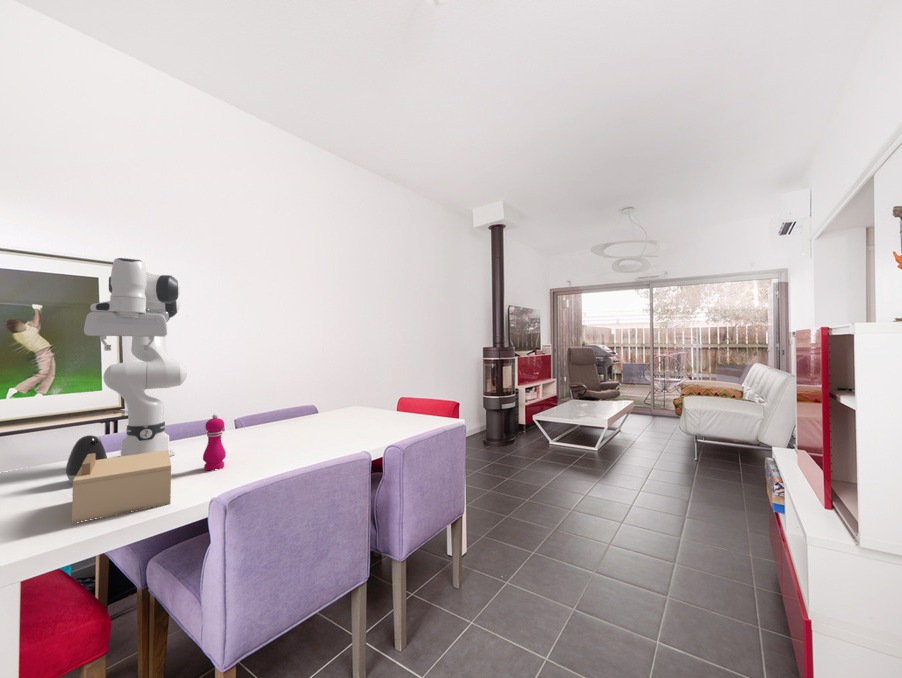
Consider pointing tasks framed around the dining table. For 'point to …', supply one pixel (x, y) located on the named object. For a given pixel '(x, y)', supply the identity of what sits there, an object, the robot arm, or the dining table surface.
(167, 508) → the dining table surface
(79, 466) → the black egg shape
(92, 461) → the lid
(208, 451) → the pepper mill
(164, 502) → the box
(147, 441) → the robot arm
